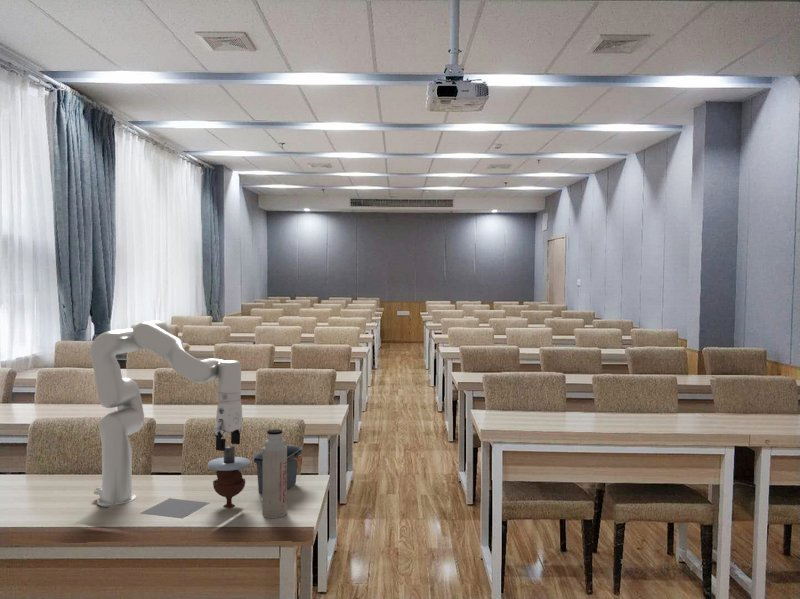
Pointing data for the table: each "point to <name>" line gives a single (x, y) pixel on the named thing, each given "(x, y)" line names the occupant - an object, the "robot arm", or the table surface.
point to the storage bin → (291, 466)
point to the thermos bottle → (274, 475)
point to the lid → (229, 461)
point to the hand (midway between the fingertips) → (228, 447)
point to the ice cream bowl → (229, 485)
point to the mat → (175, 508)
